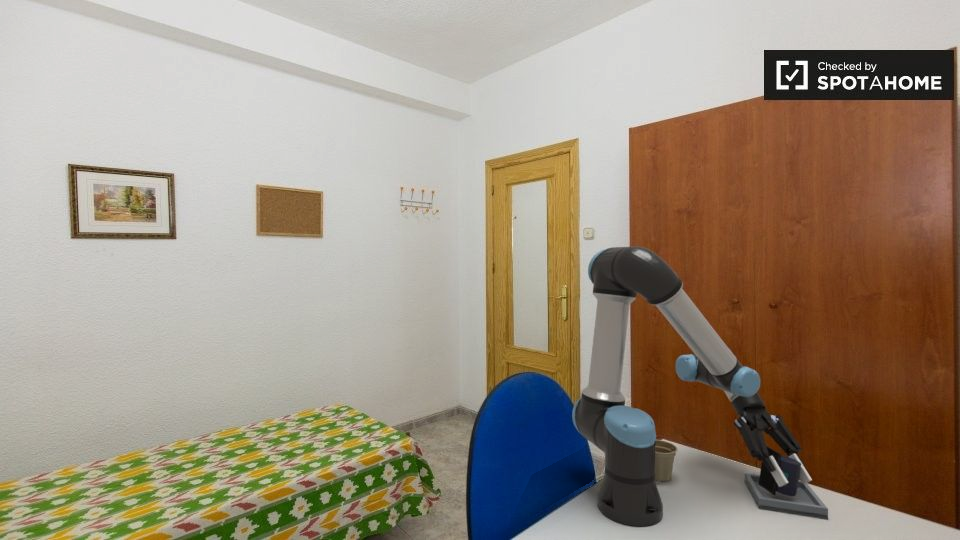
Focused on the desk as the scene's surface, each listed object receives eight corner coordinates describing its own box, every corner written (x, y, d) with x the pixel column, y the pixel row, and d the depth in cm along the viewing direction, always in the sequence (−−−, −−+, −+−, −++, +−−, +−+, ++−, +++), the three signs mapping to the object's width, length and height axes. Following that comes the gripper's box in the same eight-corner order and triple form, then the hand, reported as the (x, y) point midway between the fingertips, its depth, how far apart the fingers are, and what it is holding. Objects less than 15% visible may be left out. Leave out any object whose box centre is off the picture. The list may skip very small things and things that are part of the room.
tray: (759, 508, 107) (759, 498, 107) (744, 482, 120) (744, 473, 120) (827, 519, 103) (828, 508, 103) (805, 490, 116) (805, 481, 116)
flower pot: (681, 486, 118) (681, 454, 118) (644, 482, 120) (644, 451, 120) (673, 470, 127) (673, 440, 127) (639, 467, 129) (639, 438, 129)
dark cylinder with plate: (766, 494, 109) (770, 453, 109) (758, 484, 115) (762, 444, 115) (801, 502, 107) (806, 459, 107) (791, 491, 113) (795, 451, 113)
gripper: (765, 402, 128) (817, 485, 112) (707, 406, 125) (753, 492, 109) (781, 389, 123) (838, 474, 107) (721, 392, 119) (771, 481, 103)
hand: (795, 483), depth 108 cm, fingers closed on dark cylinder with plate, 6 cm apart
